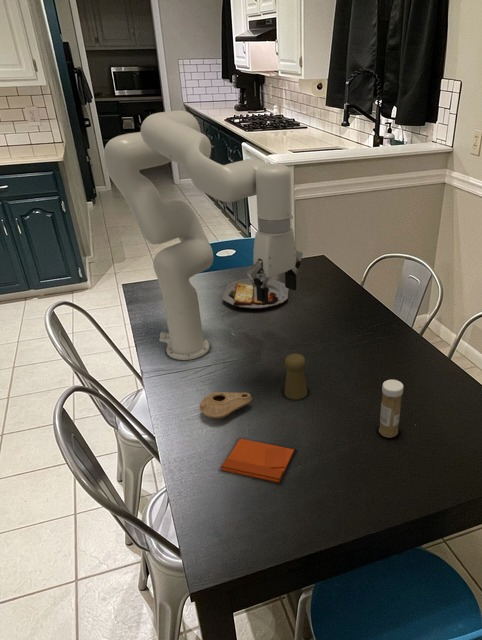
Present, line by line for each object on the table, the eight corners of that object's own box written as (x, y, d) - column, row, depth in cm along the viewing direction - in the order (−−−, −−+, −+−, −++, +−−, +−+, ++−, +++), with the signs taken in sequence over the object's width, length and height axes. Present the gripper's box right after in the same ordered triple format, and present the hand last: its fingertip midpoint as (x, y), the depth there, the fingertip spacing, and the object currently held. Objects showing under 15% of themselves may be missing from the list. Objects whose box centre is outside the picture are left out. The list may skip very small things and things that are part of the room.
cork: (290, 401, 127) (289, 365, 121) (280, 389, 131) (278, 353, 126) (311, 395, 129) (311, 359, 123) (300, 383, 134) (300, 348, 128)
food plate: (287, 313, 170) (286, 303, 168) (218, 313, 170) (217, 303, 168) (289, 284, 191) (289, 275, 189) (229, 284, 191) (228, 275, 189)
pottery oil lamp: (257, 414, 122) (248, 401, 116) (212, 433, 122) (200, 421, 116) (249, 385, 127) (239, 371, 121) (205, 404, 127) (194, 391, 121)
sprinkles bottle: (401, 436, 115) (407, 388, 108) (382, 439, 114) (387, 391, 107) (393, 424, 119) (398, 377, 112) (375, 427, 118) (379, 380, 111)
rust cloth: (221, 470, 106) (221, 466, 106) (240, 440, 114) (239, 436, 114) (279, 483, 103) (279, 479, 103) (294, 451, 111) (294, 447, 111)
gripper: (288, 212, 119) (290, 280, 128) (234, 230, 108) (239, 302, 117) (313, 219, 114) (312, 288, 123) (258, 237, 103) (262, 311, 112)
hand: (277, 295), depth 120 cm, fingers open, 9 cm apart
